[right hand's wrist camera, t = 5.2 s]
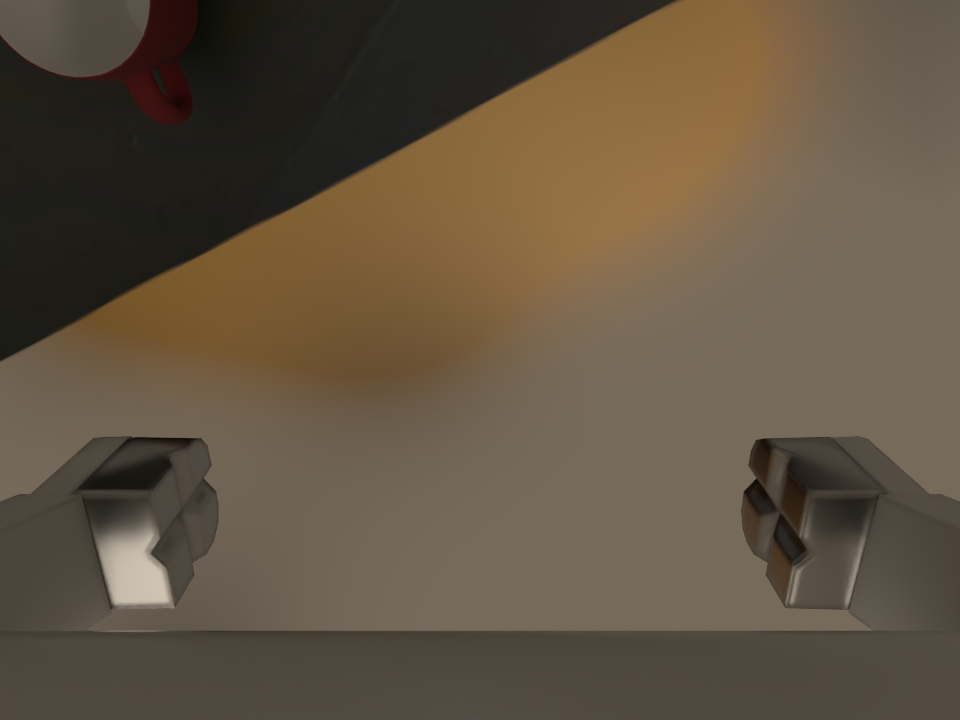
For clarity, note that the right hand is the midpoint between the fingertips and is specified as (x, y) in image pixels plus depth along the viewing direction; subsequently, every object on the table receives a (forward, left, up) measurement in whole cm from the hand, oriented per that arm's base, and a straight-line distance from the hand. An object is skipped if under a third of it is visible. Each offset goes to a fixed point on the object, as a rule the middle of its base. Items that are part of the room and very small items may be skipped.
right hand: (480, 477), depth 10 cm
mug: (+15, -13, -36) cm, 41 cm away
